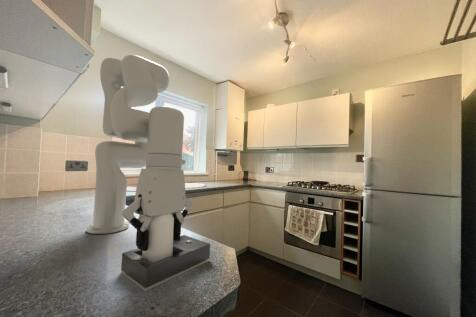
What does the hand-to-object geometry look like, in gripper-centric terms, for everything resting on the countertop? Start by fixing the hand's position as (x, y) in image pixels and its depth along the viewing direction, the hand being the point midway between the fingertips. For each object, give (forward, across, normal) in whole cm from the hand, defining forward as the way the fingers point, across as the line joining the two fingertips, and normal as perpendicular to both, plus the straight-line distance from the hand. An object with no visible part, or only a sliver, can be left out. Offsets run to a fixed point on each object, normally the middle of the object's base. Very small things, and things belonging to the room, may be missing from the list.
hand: (159, 243), depth 43 cm
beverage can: (+5, 0, 0) cm, 5 cm away
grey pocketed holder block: (+6, -2, 0) cm, 6 cm away
